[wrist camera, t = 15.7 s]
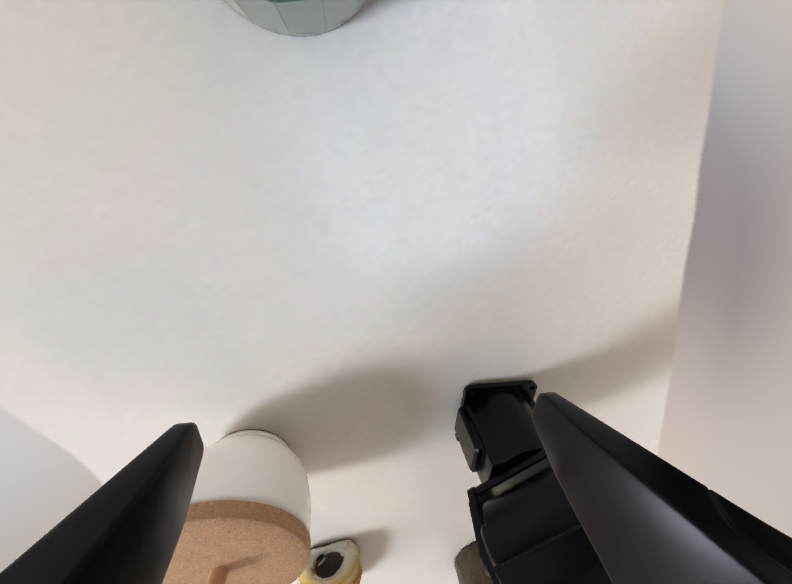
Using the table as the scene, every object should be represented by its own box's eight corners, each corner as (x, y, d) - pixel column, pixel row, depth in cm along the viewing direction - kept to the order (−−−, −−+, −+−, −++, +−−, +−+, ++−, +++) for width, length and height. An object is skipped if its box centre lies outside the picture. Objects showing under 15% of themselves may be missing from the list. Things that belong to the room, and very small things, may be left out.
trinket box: (248, 508, 30) (212, 654, 21) (148, 453, 25) (51, 616, 16) (342, 456, 28) (342, 591, 20) (256, 387, 23) (209, 528, 15)
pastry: (364, 575, 39) (366, 617, 35) (309, 585, 38) (305, 630, 35) (358, 534, 34) (359, 578, 31) (295, 546, 34) (289, 592, 30)
